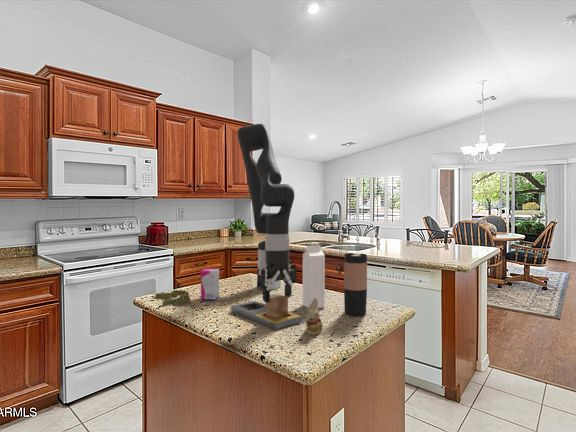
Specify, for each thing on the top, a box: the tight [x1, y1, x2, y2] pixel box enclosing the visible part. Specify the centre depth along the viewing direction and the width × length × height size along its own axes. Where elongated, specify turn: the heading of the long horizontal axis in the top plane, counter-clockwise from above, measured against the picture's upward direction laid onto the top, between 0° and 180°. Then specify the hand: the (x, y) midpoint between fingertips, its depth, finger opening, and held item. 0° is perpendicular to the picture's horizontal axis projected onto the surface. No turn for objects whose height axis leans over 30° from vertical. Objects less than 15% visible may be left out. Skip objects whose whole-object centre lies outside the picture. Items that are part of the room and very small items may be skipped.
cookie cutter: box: [154, 289, 191, 307], centre depth 137 cm, size 18×12×2 cm, turn 32°
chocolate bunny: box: [305, 298, 323, 336], centre depth 102 cm, size 6×8×10 cm
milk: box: [302, 245, 326, 309], centre depth 127 cm, size 6×6×22 cm
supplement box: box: [200, 268, 220, 302], centre depth 138 cm, size 6×6×12 cm
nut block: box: [264, 293, 289, 320], centre depth 110 cm, size 5×5×8 cm
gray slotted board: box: [230, 300, 301, 331], centre depth 115 cm, size 10×24×2 cm, turn 41°
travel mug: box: [343, 252, 368, 317], centre depth 120 cm, size 8×8×20 cm
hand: (277, 299), depth 111 cm, fingers open, 8 cm apart
